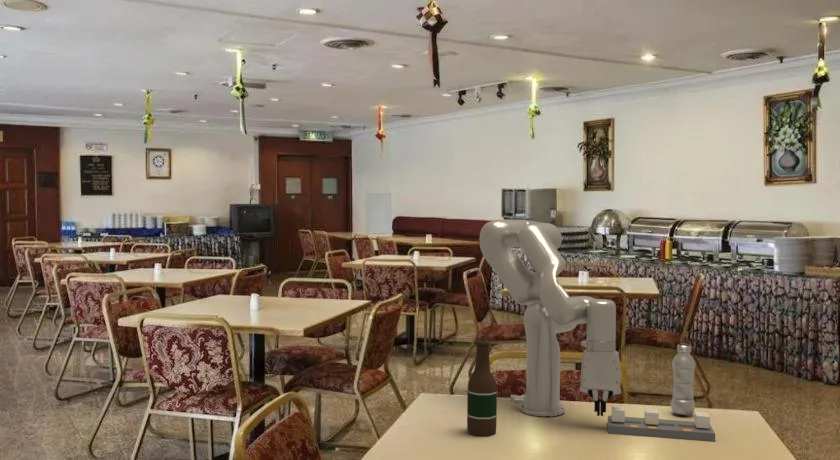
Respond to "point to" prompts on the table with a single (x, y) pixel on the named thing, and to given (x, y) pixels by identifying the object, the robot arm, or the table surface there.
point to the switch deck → (661, 429)
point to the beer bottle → (482, 395)
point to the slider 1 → (618, 414)
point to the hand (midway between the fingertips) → (600, 414)
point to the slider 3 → (702, 420)
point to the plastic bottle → (683, 381)
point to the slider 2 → (651, 416)
